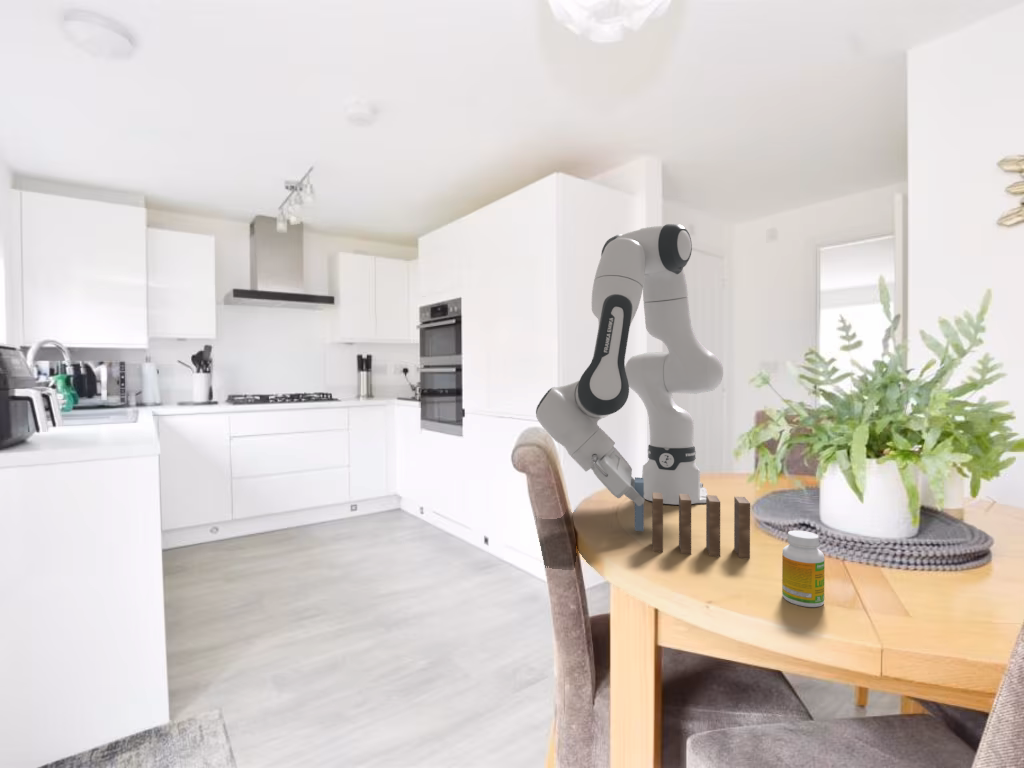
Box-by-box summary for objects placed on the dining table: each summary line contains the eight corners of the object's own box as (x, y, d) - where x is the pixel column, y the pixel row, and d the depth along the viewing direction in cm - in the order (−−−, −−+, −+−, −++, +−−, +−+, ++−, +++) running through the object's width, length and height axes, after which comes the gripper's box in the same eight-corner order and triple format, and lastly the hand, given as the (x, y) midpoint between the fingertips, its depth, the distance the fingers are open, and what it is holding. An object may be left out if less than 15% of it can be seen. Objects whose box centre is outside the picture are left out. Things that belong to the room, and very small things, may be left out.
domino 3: (680, 553, 96) (681, 499, 96) (678, 545, 101) (678, 493, 101) (691, 554, 96) (691, 500, 95) (688, 545, 100) (688, 494, 100)
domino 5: (739, 558, 94) (739, 502, 94) (734, 548, 99) (734, 496, 98) (749, 558, 93) (750, 503, 93) (744, 549, 98) (744, 496, 98)
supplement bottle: (821, 611, 72) (822, 542, 72) (778, 601, 76) (779, 535, 76) (826, 598, 77) (826, 532, 77) (785, 589, 80) (786, 526, 80)
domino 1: (634, 530, 107) (634, 482, 107) (634, 523, 112) (634, 477, 112) (643, 531, 107) (643, 482, 106) (643, 524, 111) (643, 477, 111)
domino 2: (652, 551, 97) (653, 498, 97) (652, 543, 102) (652, 492, 102) (662, 552, 97) (663, 498, 97) (661, 543, 102) (661, 492, 101)
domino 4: (709, 555, 95) (709, 501, 95) (706, 546, 100) (706, 495, 100) (720, 556, 94) (720, 501, 94) (716, 547, 99) (716, 495, 99)
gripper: (602, 448, 100) (654, 501, 98) (608, 435, 120) (652, 479, 118) (579, 470, 102) (630, 523, 99) (588, 454, 121) (632, 497, 119)
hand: (642, 499), depth 109 cm, fingers closed on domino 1, 5 cm apart
